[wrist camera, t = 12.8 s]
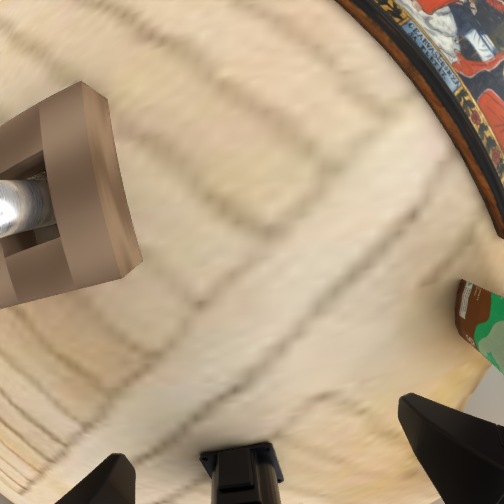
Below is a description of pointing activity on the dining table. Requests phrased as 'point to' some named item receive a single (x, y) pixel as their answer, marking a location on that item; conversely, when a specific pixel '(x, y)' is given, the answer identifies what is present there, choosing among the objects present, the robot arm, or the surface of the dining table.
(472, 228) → the dining table surface
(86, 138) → the square hollow frame
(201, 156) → the dining table surface
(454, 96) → the framed icon painting
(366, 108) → the dining table surface
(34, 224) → the cylinder
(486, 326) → the food container
